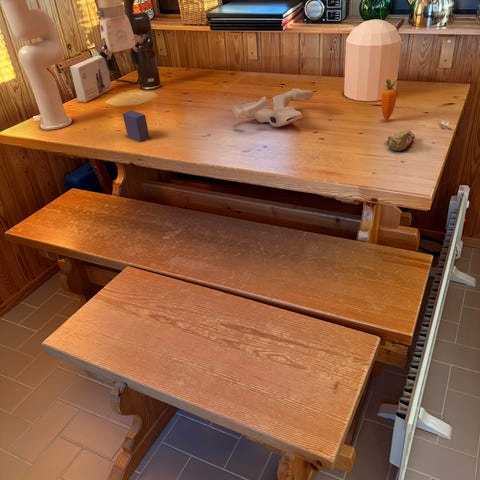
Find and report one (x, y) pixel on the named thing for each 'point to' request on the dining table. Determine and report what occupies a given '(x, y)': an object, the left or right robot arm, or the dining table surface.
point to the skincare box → (91, 78)
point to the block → (136, 125)
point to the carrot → (388, 99)
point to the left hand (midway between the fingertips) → (123, 67)
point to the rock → (400, 140)
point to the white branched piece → (280, 112)
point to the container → (371, 60)
